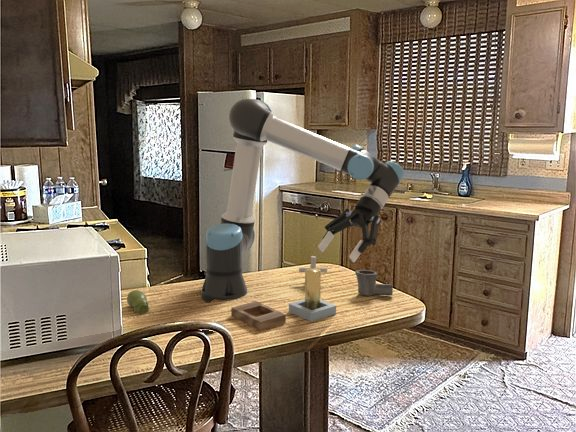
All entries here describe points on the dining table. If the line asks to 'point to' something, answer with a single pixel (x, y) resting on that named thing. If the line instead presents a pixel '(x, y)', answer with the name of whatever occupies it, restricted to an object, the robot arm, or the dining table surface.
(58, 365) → the dining table surface
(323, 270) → the pipe connector
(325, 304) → the blue-grey square socket
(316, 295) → the axle
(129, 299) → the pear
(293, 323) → the dining table surface
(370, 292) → the pipe
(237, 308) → the brown wooden holder
